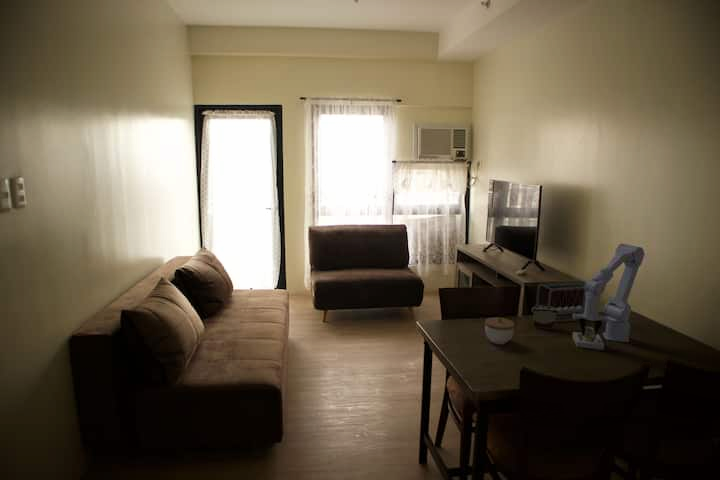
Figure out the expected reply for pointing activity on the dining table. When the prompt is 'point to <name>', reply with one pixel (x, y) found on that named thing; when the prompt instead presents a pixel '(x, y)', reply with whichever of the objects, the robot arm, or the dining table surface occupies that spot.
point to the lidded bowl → (499, 330)
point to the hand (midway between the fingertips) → (588, 335)
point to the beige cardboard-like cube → (589, 334)
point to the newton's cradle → (566, 309)
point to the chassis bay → (581, 343)
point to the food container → (544, 316)
